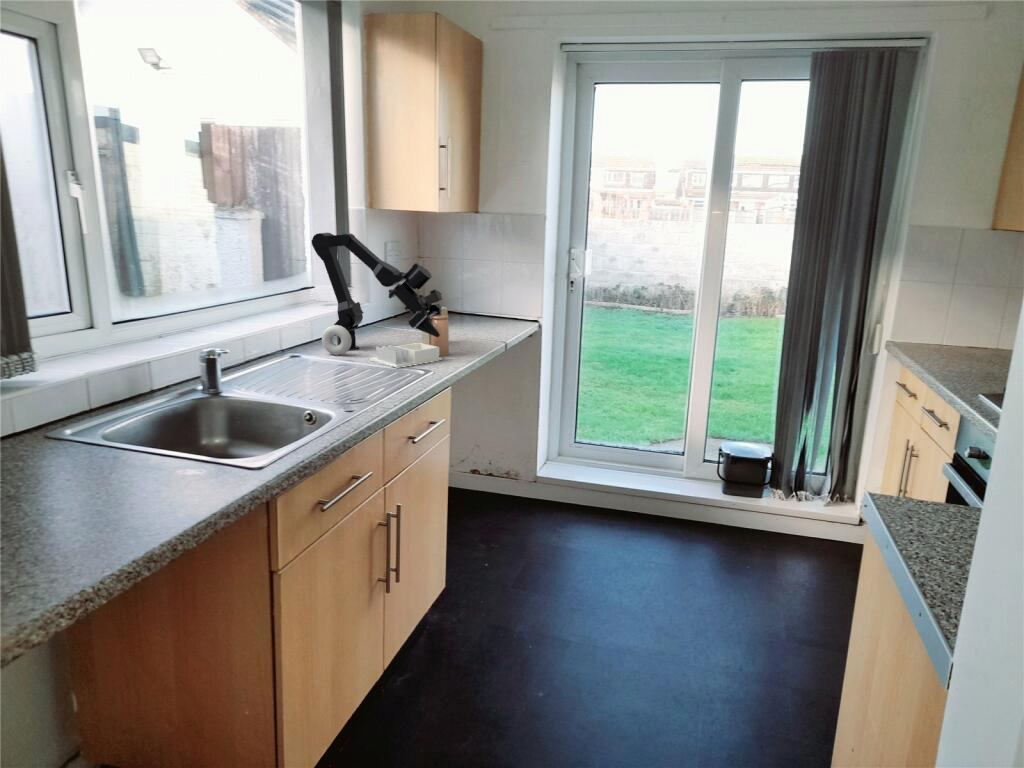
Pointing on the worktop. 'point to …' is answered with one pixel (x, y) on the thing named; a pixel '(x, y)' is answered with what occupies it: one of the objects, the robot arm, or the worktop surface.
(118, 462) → the worktop surface
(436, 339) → the tumbler
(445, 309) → the supplement box
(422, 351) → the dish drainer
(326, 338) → the donut
